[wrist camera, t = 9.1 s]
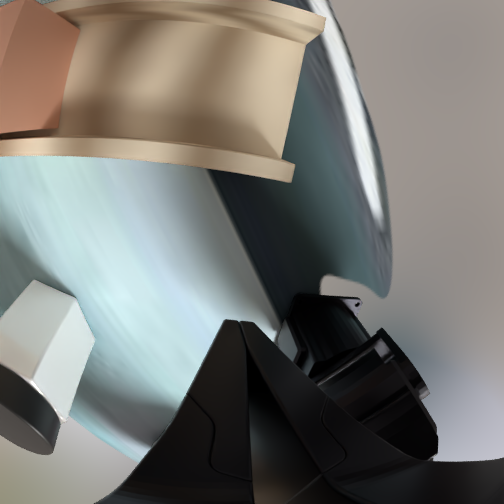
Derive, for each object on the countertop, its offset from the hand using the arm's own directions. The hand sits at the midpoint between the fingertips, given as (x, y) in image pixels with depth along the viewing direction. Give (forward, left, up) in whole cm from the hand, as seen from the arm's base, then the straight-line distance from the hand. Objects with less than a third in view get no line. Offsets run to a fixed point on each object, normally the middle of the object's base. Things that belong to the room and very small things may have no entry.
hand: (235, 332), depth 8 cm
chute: (+8, -8, -12) cm, 16 cm away
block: (+15, -8, -11) cm, 20 cm away
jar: (+14, +12, -12) cm, 22 cm away
